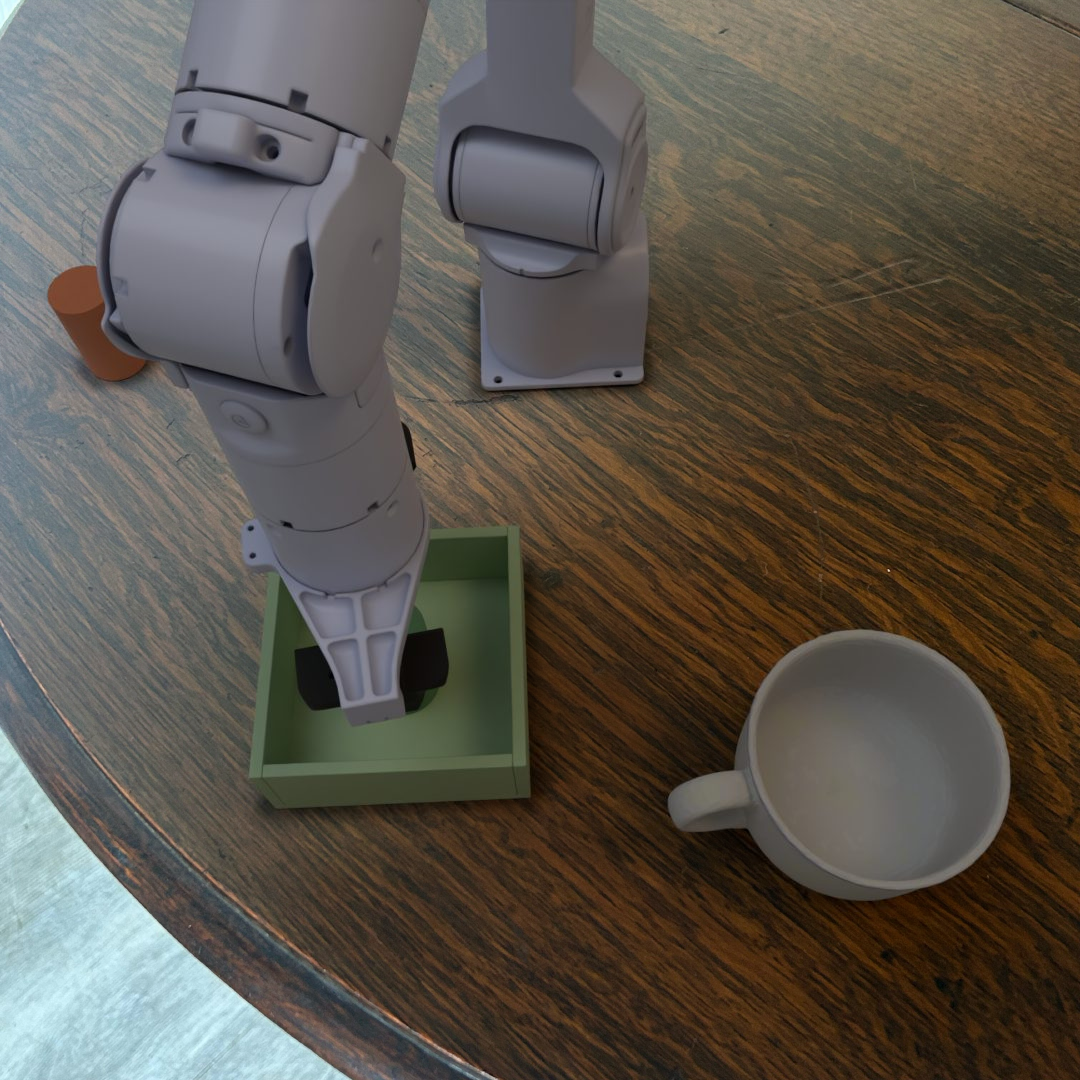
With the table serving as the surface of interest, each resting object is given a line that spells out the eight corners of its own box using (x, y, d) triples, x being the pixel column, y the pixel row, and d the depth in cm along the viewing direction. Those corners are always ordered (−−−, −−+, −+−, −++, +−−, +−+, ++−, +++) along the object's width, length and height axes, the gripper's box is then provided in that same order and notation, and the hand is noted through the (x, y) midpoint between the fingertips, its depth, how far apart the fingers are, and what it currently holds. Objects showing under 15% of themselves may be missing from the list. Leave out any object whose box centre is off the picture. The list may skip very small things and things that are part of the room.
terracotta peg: (152, 332, 66) (116, 263, 61) (144, 379, 65) (106, 312, 59) (94, 335, 66) (53, 266, 61) (84, 382, 65) (41, 315, 59)
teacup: (928, 690, 54) (980, 622, 47) (979, 918, 48) (1047, 880, 41) (647, 702, 54) (657, 636, 47) (667, 931, 48) (682, 895, 41)
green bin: (523, 571, 57) (519, 524, 53) (530, 798, 51) (526, 765, 47) (294, 582, 58) (271, 535, 53) (275, 809, 52) (247, 778, 47)
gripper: (197, 318, 40) (284, 507, 52) (215, 677, 33) (310, 801, 45) (386, 286, 40) (429, 481, 52) (444, 633, 33) (478, 767, 45)
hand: (385, 627), depth 49 cm, fingers open, 7 cm apart
